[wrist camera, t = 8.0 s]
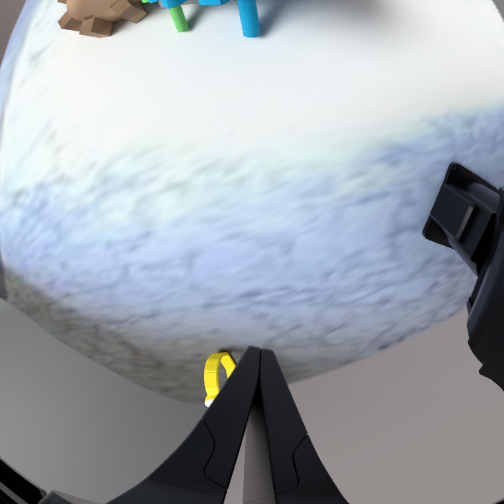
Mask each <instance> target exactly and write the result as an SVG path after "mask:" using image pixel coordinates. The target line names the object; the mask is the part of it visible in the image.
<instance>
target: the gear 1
mask: <svg viewBox="0 0 504 504" xmlns="http://www.w3.org/2000/svg"><path fill="white" fill-rule="evenodd" d="M57 2H60V3H64V4H66V5H67V12H66V13H65V14H64V15H63V16H62V17H61V19H60V20H59V21H58V23H59V25H60V26H61V28H62V29H67V30H74V31H80V33H79V34H81V35H87V36H92V37H97V38H101V37H108V36H110V35H111V31H112V27H113V23H115V22H118V21H120V20H122V19H126V20H129V21H131V22H134V23H137V22H138V21H140V20H141V19H142V18H143V17H145V16H146V15H147V14H148V13H147V12H146V11H145V10H144V9H143V7H142V6H141V5H142V4H143V2H142V0H58V1H57Z"/></svg>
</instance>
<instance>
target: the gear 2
mask: <svg viewBox="0 0 504 504" xmlns="http://www.w3.org/2000/svg"><path fill="white" fill-rule="evenodd" d="M157 1H158V2H159V4H160V7H161V8H169V10H170V12H171V15H172V17H173V20H174V23H175V25H176V28H177V31H178V32H183V31H186V30H187V29H188V25H187V22H186V19H185V16H184V13H183V10H182V7H181V5H186V4H193V3H199V4H200V5H222V4H225V3H227V2H229V1H230V0H142V2H143V3H146V2H149V3H153V2H157ZM237 2H238V7H239V12H240V18H241V23H242V29H243V34H244V36H245V37H256V36H258V35H260V28H259V20H258V13H257V6H256V0H237Z"/></svg>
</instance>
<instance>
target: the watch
mask: <svg viewBox="0 0 504 504" xmlns="http://www.w3.org/2000/svg"><path fill="white" fill-rule="evenodd" d="M220 361H221V363H222V364H223V366H224V367H225V369H226V372H227V377H229V376H230V374H231V373H232V371H233V370H234V368H235V366H236V365H235V363H234V361H233V360H232V358H231V357H230V355H229V353H228V352H223V353H213V354H211V356H210V357H209V358H208V360H207V362H206V366H205V371H204V372H205V373H204V378H205V388H206V391H207V394H208V396H207V397H206V400H205V404H206V406H208V407H209V406H210V404H211V403H212V401H213V400H214V399H215V397H216V396H217V394H218V393H219V391H220V387H219V380H218V370H219V364H220Z"/></svg>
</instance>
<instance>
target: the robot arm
mask: <svg viewBox="0 0 504 504" xmlns="http://www.w3.org/2000/svg"><path fill="white" fill-rule="evenodd" d="M455 167H456V170H455V171H454V168H455ZM429 231H430V233H429V234H427V233H428V232H429ZM422 233H423V236H424V237H425V238H426V239H428V240H430V241H433V242H436V243H439V244H441V245H444V246H447V247H449V248H452V249H454V250H456V252H457V253H458V254H459V255H460V256H461V257H462V259H463V260H464V261H465V262H466V263H467V264H468V266H469V267H470V268H471V269H472V271H473V272H474V273H475V274H476V276H477V277H478V279H477V282H476V285H475V287H474V290H473V292H472V295H471V297H469V299H468V302H467V309H468V314H469V315H468V321H467V328H468V335H469V340H468V344H469V346H470V348H471V350H472V352H473V354H474V355H475V356H476V358H477V359H478V360H479V361H480V362H481V363H482V364H483V365H482V367H481V368H480V370H479V373H480V374H481V375H483V376H485V377H487V378H489V379H491V380H492V381H494V382H495V383H496V384H497V385H499V386H500V387H501V388H502V390H503V391H504V187H500V189H499V190H498V189H496V188H495V187H493V186H492V185H490V184H489V183H487V182H486V181H485V180H483V179H482V178H480V177H478V176H477V175H475V174H474V173H472V172H471V171H469V170H467V169H466V168H464V167H463V166H461V165H459V164H457V163H455V162H452V163H451V164H450V165H449V167H448V170H447V173H446V176H445V179H444V181H443V184H442V186H441V188H440V191H439V193H438V196H437V198H436V201H435V203H434V205H433V208H432V210H431V212H430V216H429V218H428V220H427V222H426V225H425V227H424V229H423V232H422ZM245 430H246V446H245V466H244V487H243V504H349V503H348V502H347V501H346V499H345V498H344V497H343V496H342V494H341V493H340V491H339V489H338V488H337V486H336V485H335V483H334V482H333V480H332V478H331V477H330V475H329V474H328V472H327V470H326V469H325V467H324V465H323V464H322V462H321V460H320V458H319V457H318V455H317V452H316V450H315V448H314V446H313V444H312V442H311V439H310V437H309V435H307V434H308V433H307V430H306V428H305V426H304V423H303V421H302V419H301V416H300V414H299V411H298V409H297V407H296V404H295V402H294V400H293V397H292V395H291V392H290V390H289V388H288V385H287V383H286V381H285V378H284V376H283V373H282V371H281V368H280V366H279V364H278V361H277V359H276V356H275V354H274V352H273V350H270V349H265V348H261V349H260V348H259V347H255V346H248V348H247V349H246V351H245V352H244V354H243V355H242V357H241V359H240V360H239V362H238V363H237V365H236V366H235V368H234V370H233V371H232V373H231V374H230V376H229V377H228V379H227V380H226V382H225V383H224V385H223V386H222V388H221V389H220V391H219V393H218V394H217V396H216V397H215V399H214V400H213V401H212V403H211V404H210V406H209V407H208V409H207V410H206V412H205V413H204V415H203V416H202V418H201V419H200V420H199V422H198V423H197V425H196V426H195V428H194V429H193V430H192V432H191V433H190V434H189V435H188V437H187V438H186V439H185V440H184V441H183V443H182V444H181V445H180V446H179V447H178V448H177V449H176V450H175V451H174V452H173V453H172V454H171V455H170V456H169V457H168V458H167V459H166V460H165V461H164V462H163V463H162V464H161V465H160V466H159V467H158V468H157V469H155V470H154V471H153V472H152V473H151V474H150V475H149V476H148V477H147V478H145V479H144V480H143V481H141V482H140V483H139V484H137V485H136V486H134V487H133V488H131V489H130V490H128V491H126V492H125V493H123V494H121V495H120V496H118V497H116V498H115V499H113V500H111V501H110V502H108V503H106V504H223V503H224V500H225V497H226V493H227V489H228V487H229V484H230V481H231V477H232V474H233V471H234V467H235V464H236V460H237V457H238V454H239V451H240V447H241V444H242V440H243V436H244V433H245ZM0 504H101V503H96V502H92V501H88V500H85V499H81V498H77V497H74V496H71V495H68V494H65V493H61V492H59V491H55V490H52V491H51V492H50V493H48V494H47V493H46V491H45V490H43V489H42V488H40V487H39V486H37V485H36V484H34V483H33V482H32V481H30V480H29V479H27V478H26V477H25V476H23V475H22V474H21V473H19V472H18V471H17V470H16V469H14V468H13V467H12V466H11V465H9V464H8V463H7V462H6V461H5V460H3V459H2V458H1V457H0ZM492 504H504V498H503V499H501V500H499V501H497V502H495V503H492Z"/></svg>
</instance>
